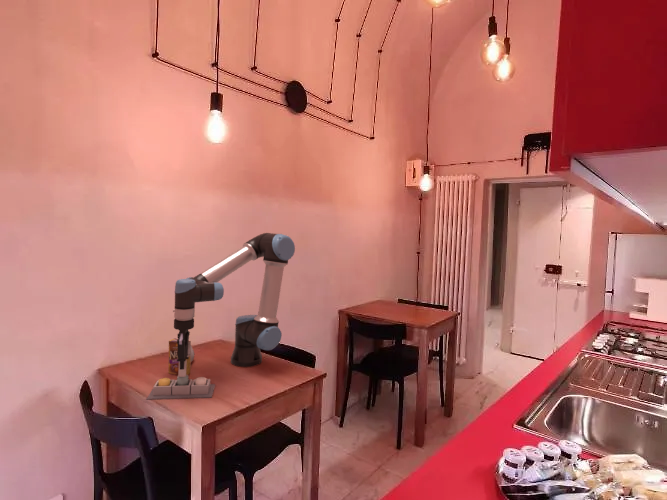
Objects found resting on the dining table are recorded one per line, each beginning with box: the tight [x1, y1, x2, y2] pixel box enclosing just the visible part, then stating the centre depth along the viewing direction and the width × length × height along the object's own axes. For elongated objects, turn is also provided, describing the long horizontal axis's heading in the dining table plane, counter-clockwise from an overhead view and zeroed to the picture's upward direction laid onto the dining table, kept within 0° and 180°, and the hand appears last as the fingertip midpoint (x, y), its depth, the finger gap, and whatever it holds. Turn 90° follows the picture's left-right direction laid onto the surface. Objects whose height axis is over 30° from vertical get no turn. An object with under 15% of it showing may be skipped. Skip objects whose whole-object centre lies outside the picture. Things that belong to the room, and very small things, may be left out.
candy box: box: [168, 338, 192, 376], centre depth 176 cm, size 9×4×15 cm, turn 73°
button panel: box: [145, 378, 216, 401], centre depth 158 cm, size 24×12×4 cm, turn 100°
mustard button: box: [158, 377, 171, 386], centre depth 157 cm, size 4×4×4 cm
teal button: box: [176, 375, 189, 386], centre depth 158 cm, size 4×4×4 cm
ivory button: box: [195, 376, 207, 385], centre depth 160 cm, size 4×4×4 cm
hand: (182, 376), depth 158 cm, fingers closed
